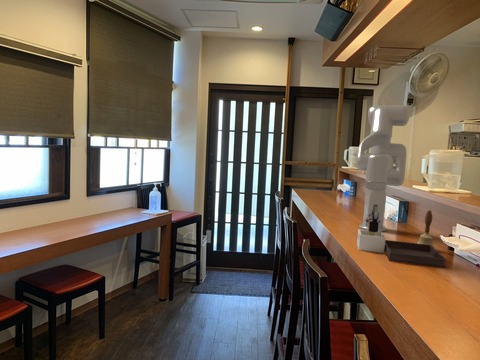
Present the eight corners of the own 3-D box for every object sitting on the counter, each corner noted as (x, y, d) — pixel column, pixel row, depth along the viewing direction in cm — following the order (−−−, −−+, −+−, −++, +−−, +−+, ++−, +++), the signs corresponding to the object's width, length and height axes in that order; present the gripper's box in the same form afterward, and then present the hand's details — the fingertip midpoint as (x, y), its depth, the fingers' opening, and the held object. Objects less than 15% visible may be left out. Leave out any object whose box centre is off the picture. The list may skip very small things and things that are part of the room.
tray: (381, 246, 140) (382, 239, 140) (430, 252, 136) (431, 245, 135) (389, 260, 123) (389, 252, 123) (445, 267, 118) (446, 259, 118)
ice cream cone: (368, 250, 134) (371, 212, 132) (359, 246, 140) (362, 209, 138) (380, 250, 136) (384, 212, 134) (371, 245, 141) (375, 209, 139)
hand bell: (440, 250, 139) (445, 211, 137) (428, 253, 135) (433, 213, 133) (421, 244, 146) (425, 207, 144) (409, 247, 142) (413, 209, 140)
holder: (356, 243, 143) (358, 229, 142) (380, 246, 141) (382, 231, 140) (358, 249, 134) (360, 234, 134) (383, 252, 132) (385, 237, 131)
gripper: (363, 183, 144) (360, 223, 146) (368, 187, 127) (363, 233, 129) (382, 184, 142) (378, 225, 144) (389, 189, 126) (385, 235, 127)
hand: (371, 228), depth 137 cm, fingers open, 9 cm apart
